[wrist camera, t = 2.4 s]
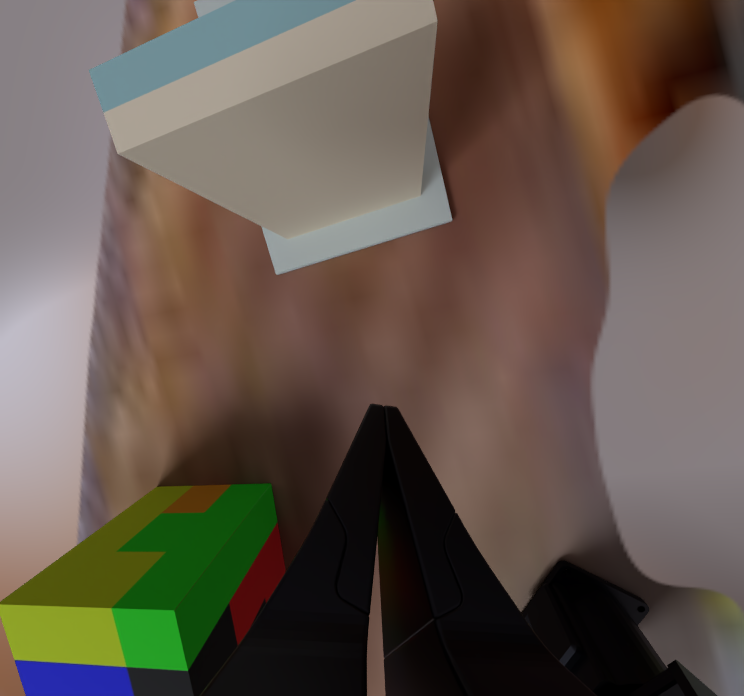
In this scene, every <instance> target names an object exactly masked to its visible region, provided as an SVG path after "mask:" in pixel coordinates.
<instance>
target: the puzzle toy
mask: <svg viewBox="0 0 744 696" xmlns="http://www.w3.org/2000/svg"><path fill="white" fill-rule="evenodd" d="M285 572H286V570H285V564H284V558H283V552H282V546H281V540H280V534H279V528H278V522H277V516H276V509H275V503H274V497H273V491H272V485H271V483H267V484H233V485H198V486H164V487H156V488H155V489H153V490H152V491H150V492H149V493H148V494H146V495H145V496H144V497H142V498H141V499H140V500H138V501H137V502H135V503H134V504H133V505H131V506H130V507H129V508H127V509H126V510H125V511H123V512H122V513H120V514H119V515H118V516H116V517H115V518H114V519H112V520H111V521H110V522H108V523H107V524H105V525H104V526H103V527H101V528H100V529H99V530H97V531H96V532H95V533H93V534H92V535H90V536H89V537H88V538H86V539H85V540H84V541H82V542H81V543H80V544H78V545H77V546H75V547H74V548H73V549H71V550H70V551H69V552H68V553H66V554H65V555H63V556H62V557H60V558H59V559H58V560H56V561H55V562H54V563H52V564H51V565H50V566H48V567H47V568H45V569H44V570H43V571H41V572H40V573H39V574H37V575H36V576H35V577H33V578H32V579H30V580H29V581H28V582H26V583H25V584H24V585H22V586H21V587H20V588H18V589H17V590H15V591H14V592H13V593H11V594H10V595H9V596H7V597H6V598H5V599H3V600H2V601H1V602H0V616H1V620H2V623H3V626H4V629H5V632H6V635H7V638H8V641H9V645H10V647H11V651H12V654H13V657H14V660H15V663H16V666H17V669H18V673H19V676H20V679H21V682H22V685H23V688H24V691H25V694H26V696H200V694H201V693H202V692H203V691H204V689H205V688H206V687H207V685H208V684H209V683H210V681H211V680H212V679H213V678H214V676H215V675H216V674H217V672H218V671H219V670H220V668H221V667H222V666H223V665H224V663H225V662H226V661H227V659H228V658H229V657H230V656H231V654H232V653H233V652H234V650H235V649H236V647H237V646H238V645H239V643H240V642H241V641H242V639H243V638H244V636H245V635H246V633H247V632H248V630H249V629H250V628H251V626H252V625H253V623H254V621H255V620H256V618H257V617H258V615H259V614H260V612H261V611H262V609H263V607H264V606H265V604H266V603H267V601H268V599H269V598H270V596H271V595H272V593H273V591H274V590H275V588H276V587H277V585H278V583H279V582H280V580H281V579H282V577H283V575H284V574H285Z"/></svg>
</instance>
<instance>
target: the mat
mask: <svg viewBox="0 0 744 696" xmlns="http://www.w3.org/2000/svg"><path fill="white" fill-rule="evenodd" d="M233 1H235V0H198V1H196V2H194V4H195V7H196V11H197V14H198V17H201V16H203V15H206V14H208V13H210V12H212V11H214V10H216V9H218V8H220V7H222V6H224V5H227V4H229V3H231V2H233ZM451 221H452V216H451V212H450V208H449V203H448V199H447V195H446V190H445V186H444V182H443V177H442V173H441V169H440V164H439V160H438V155H437V151H436V147H435V142H434V138H433V134H432V129H431V125H430V121H429V116H428V124H427V135H426V145H425V155H424V165H423V176H422V186H421V196H419V197H416V198H413V199H410V200H407V201H403V202H400V203H397V204H394V205H391V206H388V207H385V208H382V209H379V210H376V211H373V212H370V213H367V214H364V215H361V216H358V217H355V218H351V219H348V220H345V221H342V222H339V223H336V224H333V225H330V226H327V227H324V228H321V229H318V230H315V231H312V232H309V233H306V234H303V235H300V236H296V237H293V238H290V239H286V238H284V237H282V236H280V235H278V234H276V233H274V232H272V231H270V230H268V229H266V228H264V227H262V229H263V233H264V236H265V239H266V243H267V246H268V249H269V253H270V256H271V259H272V262H273V266H274V269H275V272H276V274H277V275H279V274H283V273H286V272H289V271H292V270H296V269H299V268H302V267H305V266H309V265H312V264H315V263H318V262H322V261H325V260H328V259H331V258H335V257H338V256H341V255H344V254H348V253H351V252H354V251H357V250H361V249H364V248H367V247H370V246H373V245H377V244H380V243H383V242H386V241H390V240H393V239H396V238H399V237H403V236H406V235H409V234H412V233H416V232H419V231H422V230H425V229H429V228H432V227H435V226H438V225H442V224H445V223H448V222H451Z"/></svg>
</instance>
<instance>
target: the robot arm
mask: <svg viewBox="0 0 744 696" xmlns="http://www.w3.org/2000/svg"><path fill="white" fill-rule="evenodd" d="M377 537H378V556H379V575H380V594H381V613H382V632H383V651H384V658H385V659H384V672H385V691H386V696H717V695H716V694H715V693H714V692H713V691H712V690H710V689H709V688H708V687H707V686H706V685H705V684H704V683H702V682H701V681H700V680H699V679H698V678H697V677H695V676H694V675H693V674H692V673H691V672H690V671H689V670H687V669H686V668H685V667H684V666H683V665H682V664H680V663H679V662H678V661H677V660H675V661H673V662H671V663H670V664H668V665H667V666H668V668H667V667H666V666H665V664H664V663H663V662H662V660H661V659H660V657H659V656H658V654H657V653H656V652H655V650H654V649H653V647H652V646H651V644H650V643H649V642H648V640H647V639H646V637H645V636H644V634H643V633H642V632H641V630H640V629H639V627H638V624H639V623H640V622H641V621H642V619H643V618H644V617H645V616H646V615H647V613H648V612H649V607H648V605H647V604H646V603H645V602H644V600H643V599H641V598H639V597H637V596H635V595H633V594H631V593H629V592H627V591H625V590H623V589H621V588H619V587H617V586H615V585H613V584H611V583H609V582H607V581H605V580H603V579H601V578H599V577H597V576H595V575H593V574H591V573H589V572H587V571H585V570H583V569H581V568H579V567H577V566H575V565H573V564H571V563H569V562H567V561H560V562H558V563H557V564H556V566H555V567H554V569H553V570H552V572H551V573H550V574H549V576H548V577H547V579H546V580H545V582H544V583H543V584H542V586H541V587H540V589H539V590H538V592H537V593H536V594H535V596H534V597H533V599H532V600H531V602H530V603H529V604H528V606H527V607H526V609H525V610H524V612H523V613H522V614H521V612H520V611H519V609H518V608H517V606H516V605H515V603H514V602H513V600H512V599H511V597H510V596H509V595H508V593H507V592H506V590H505V589H504V587H503V586H502V584H501V583H500V581H499V580H498V579H497V577H496V576H495V574H494V573H493V571H492V570H491V568H490V567H489V565H488V564H487V562H486V561H485V559H484V558H483V556H482V555H481V553H480V552H479V550H478V548H477V547H476V545H475V544H474V542H473V540H472V538H471V537H470V535H469V533H468V532H467V530H466V528H465V527H464V525H463V523H462V521H461V519H460V518H459V516H458V514H457V513H455V509H454V507H453V505H452V504H451V502H450V500H449V498H448V496H447V495H446V493H445V491H444V489H443V488H442V486H441V484H440V482H439V480H438V479H437V477H436V475H435V473H434V472H433V470H432V468H431V466H430V464H429V463H428V461H427V459H426V457H425V456H424V454H423V452H422V450H421V448H420V447H419V445H418V443H417V441H416V440H415V438H414V436H413V434H412V432H411V431H410V429H409V427H408V425H407V424H406V422H405V420H404V418H403V416H402V415H401V413H400V411H399V409H398V408H397V407H393V406H384V407H383V406H382V405H379V404H370V406H369V408H368V410H367V412H366V414H365V416H364V418H363V420H362V423H361V425H360V427H359V429H358V431H357V433H356V435H355V438H354V440H353V442H352V444H351V446H350V448H349V451H348V453H347V455H346V457H345V459H344V461H343V463H342V466H341V468H340V470H339V472H338V474H337V476H336V478H335V481H334V483H333V485H332V487H331V489H330V491H329V493H328V496H327V498H326V500H325V502H324V504H323V506H322V508H321V510H320V512H319V515H318V517H317V518H316V520H315V522H314V524H313V526H312V528H311V530H310V532H309V534H308V536H307V538H306V539H305V541H304V543H303V544H302V546H301V548H300V550H299V551H298V553H297V555H296V556H295V558H294V559H293V561H292V563H291V564H290V566H289V567H288V569H287V571H286V572H285V574H284V575H283V577H282V579H281V580H280V582H279V583H278V585H277V587H276V588H275V590H274V591H273V593H272V595H271V596H270V598H269V599H268V601H267V603H266V604H265V606H264V607H263V609H262V611H261V612H260V614H259V615H258V617H257V618H256V620H255V621H254V623H253V625H252V626H251V628H250V629H249V630H248V632H247V633H246V635H245V636H244V638H243V639H242V641H241V642H240V643H239V645H238V646H237V647H236V649H235V650H234V652H233V653H232V654H231V656H230V657H229V658H228V659H227V661H226V662H225V663H224V665H223V666H222V667H221V668H220V670H219V671H218V672H217V674H216V675H215V676H214V678H213V679H212V680H211V681H210V683H209V684H208V685H207V687H206V688H205V689H204V691H203V692H202V693H201V694H200V696H367V640H368V626H369V614H370V606H371V596H372V585H373V575H374V565H375V555H376V544H377ZM564 569H566V570H564Z"/></svg>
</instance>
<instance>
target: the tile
mask: <svg viewBox="0 0 744 696" xmlns="http://www.w3.org/2000/svg"><path fill="white" fill-rule="evenodd" d="M436 32H437V16H436V12H435V7H434V3H433V0H235V1H233V2H231V3H229V4H227V5H224V6H222V7H220V8H218V9H216V10H214V11H212V12H210V13H208V14H206V15H203V16H201V17H199V18H197V19H195V20H193V21H191V22H189V23H187V24H185V25H182V26H180V27H178V28H176V29H174V30H172V31H170V32H168V33H166V34H164V35H161V36H159V37H157V38H155V39H153V40H151V41H149V42H147V43H145V44H143V45H140V46H138V47H136V48H134V49H132V50H130V51H128V52H126V53H124V54H122V55H120V56H117V57H115V58H113V59H111V60H109V61H107V62H105V63H103V64H101V65H99V66H96V67H94V68H92V69H90V70H89V72H90V75H91V78H92V80H93V84H94V87H95V89H96V92H97V95H98V98H99V101H100V104H101V107H102V110H103V112H104V115H105V118H106V121H107V124H108V127H109V130H110V133H111V136H112V139H113V141H114V144H115V147H116V150H117V153H118V154H119V155H121V156H123V157H125V158H127V159H129V160H131V161H133V162H135V163H137V164H139V165H141V166H143V167H145V168H147V169H149V170H151V171H153V172H155V173H157V174H159V175H161V176H163V177H165V178H167V179H169V180H171V181H173V182H175V183H177V184H179V185H181V186H183V187H185V188H187V189H189V190H191V191H193V192H194V193H196V194H198V195H200V196H202V197H204V198H206V199H208V200H210V201H212V202H214V203H216V204H218V205H220V206H222V207H224V208H226V209H228V210H230V211H232V212H234V213H236V214H238V215H240V216H242V217H244V218H246V219H248V220H250V221H252V222H254V223H256V224H258V225H260V226H262V227H264V228H266V229H268V230H270V231H272V232H274V233H276V234H278V235H280V236H282V237H284V238H286V239H290V238H293V237H296V236H300V235H303V234H306V233H309V232H312V231H315V230H318V229H321V228H324V227H327V226H330V225H333V224H336V223H339V222H342V221H345V220H348V219H351V218H355V217H358V216H361V215H364V214H367V213H370V212H373V211H376V210H379V209H382V208H385V207H388V206H391V205H394V204H397V203H400V202H403V201H407V200H410V199H413V198H416V197H419V196H421V186H422V176H423V165H424V155H425V145H426V135H427V124H428V114H429V104H430V93H431V83H432V73H433V63H434V52H435V42H436Z"/></svg>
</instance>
